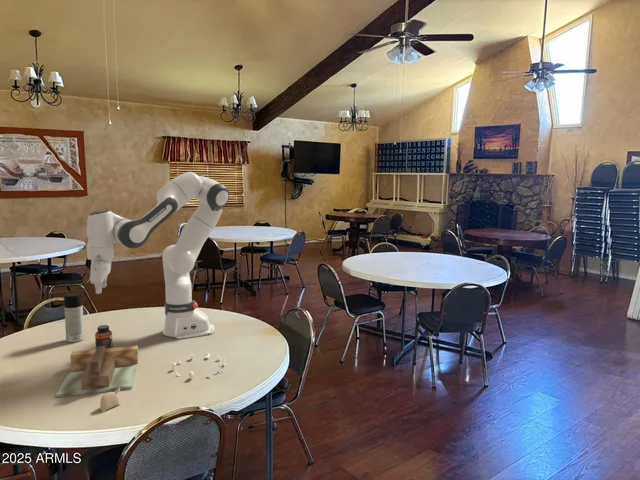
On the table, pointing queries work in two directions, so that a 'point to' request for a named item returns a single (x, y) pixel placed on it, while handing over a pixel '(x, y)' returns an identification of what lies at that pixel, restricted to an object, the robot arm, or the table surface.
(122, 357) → the oak slat
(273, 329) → the table surface
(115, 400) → the decorative ornament
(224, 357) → the game piece set
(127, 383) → the ridge stand
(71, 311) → the spray can
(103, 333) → the supplement bottle
